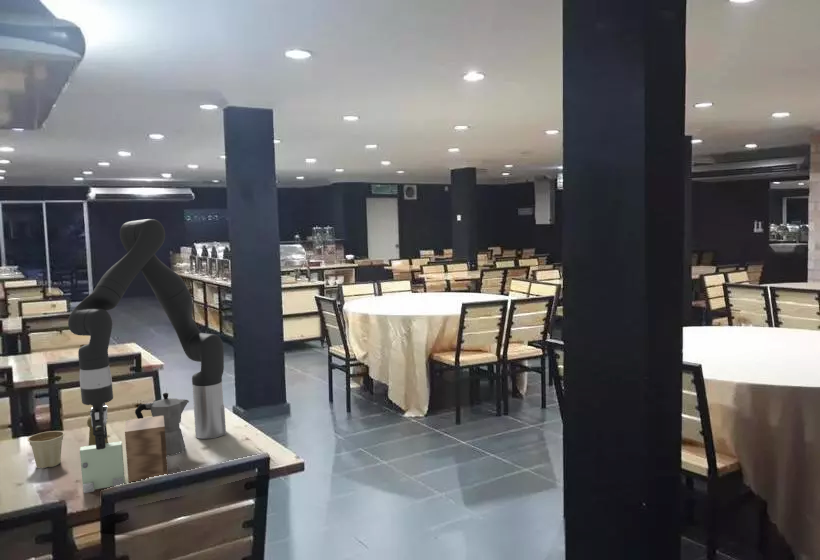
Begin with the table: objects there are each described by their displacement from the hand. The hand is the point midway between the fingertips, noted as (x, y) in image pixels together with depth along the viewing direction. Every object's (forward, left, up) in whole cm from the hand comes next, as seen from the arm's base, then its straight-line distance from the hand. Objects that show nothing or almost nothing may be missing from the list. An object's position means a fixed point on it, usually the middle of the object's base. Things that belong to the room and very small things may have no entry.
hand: (102, 443), depth 176 cm
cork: (+3, -30, -12) cm, 33 cm away
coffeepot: (-16, -20, -12) cm, 28 cm away
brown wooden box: (-11, -5, -12) cm, 16 cm away
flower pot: (+16, -24, -12) cm, 32 cm away
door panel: (0, 0, -12) cm, 12 cm away
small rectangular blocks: (0, 0, -12) cm, 12 cm away
